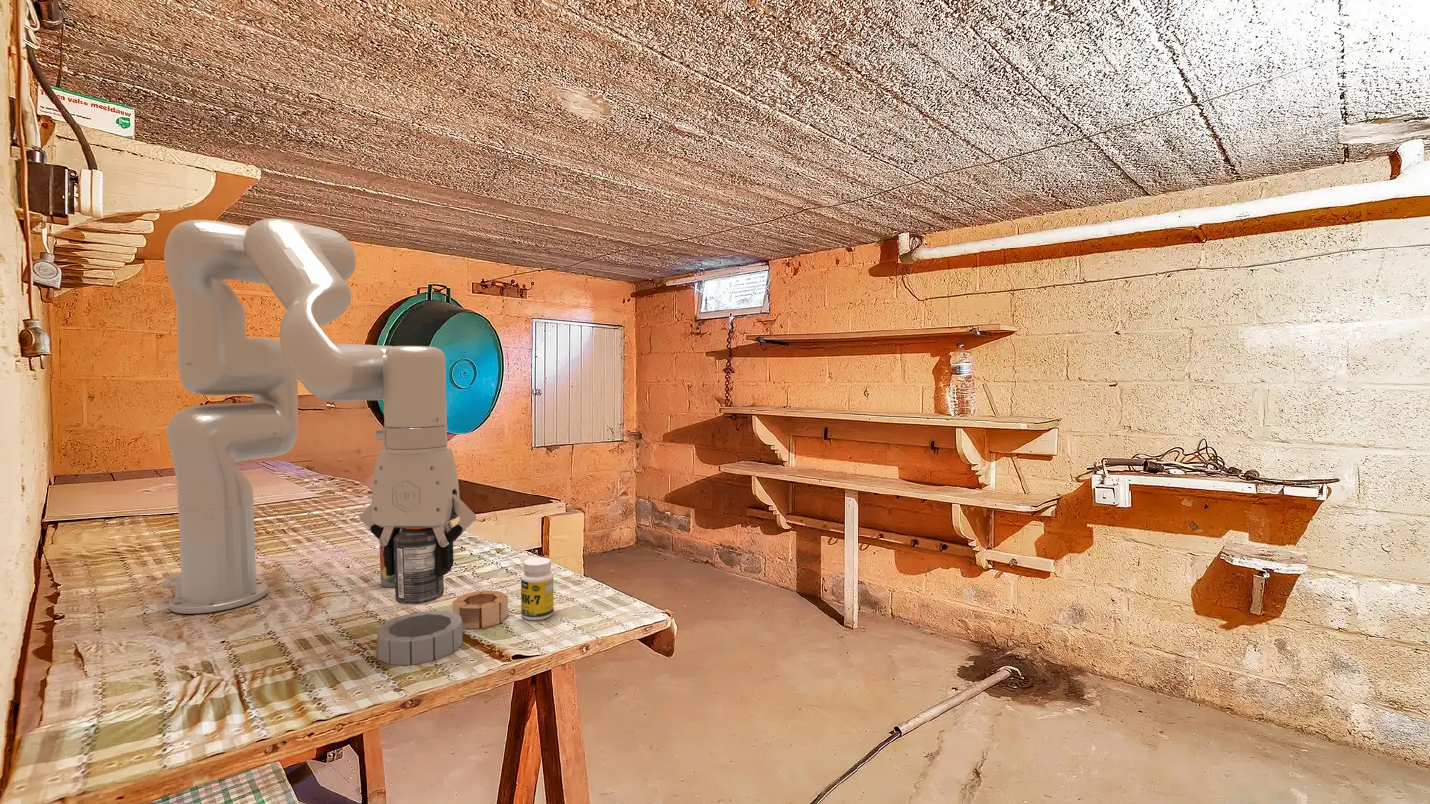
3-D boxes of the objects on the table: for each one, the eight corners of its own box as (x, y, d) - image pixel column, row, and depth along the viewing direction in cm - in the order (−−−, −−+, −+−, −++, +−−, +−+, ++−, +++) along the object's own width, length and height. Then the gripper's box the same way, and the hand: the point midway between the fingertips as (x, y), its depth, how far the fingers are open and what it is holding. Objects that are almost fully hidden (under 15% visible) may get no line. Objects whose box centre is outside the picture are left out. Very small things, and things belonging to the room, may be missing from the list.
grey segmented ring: (360, 663, 81) (360, 640, 81) (404, 630, 92) (403, 610, 91) (439, 665, 81) (439, 642, 81) (474, 632, 91) (474, 611, 91)
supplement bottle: (514, 618, 96) (514, 563, 96) (533, 607, 101) (533, 555, 100) (541, 623, 94) (541, 567, 94) (559, 611, 99) (559, 558, 98)
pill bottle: (412, 589, 89) (411, 509, 89) (452, 591, 88) (451, 510, 88) (385, 605, 83) (383, 519, 83) (427, 607, 82) (425, 520, 82)
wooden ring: (445, 628, 92) (445, 607, 92) (467, 609, 100) (467, 590, 100) (495, 629, 92) (494, 609, 92) (513, 610, 99) (513, 591, 99)
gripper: (335, 442, 81) (339, 581, 82) (467, 443, 80) (470, 584, 81) (369, 436, 89) (373, 563, 90) (491, 437, 88) (493, 565, 89)
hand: (419, 572), depth 86 cm, fingers closed on pill bottle, 6 cm apart
